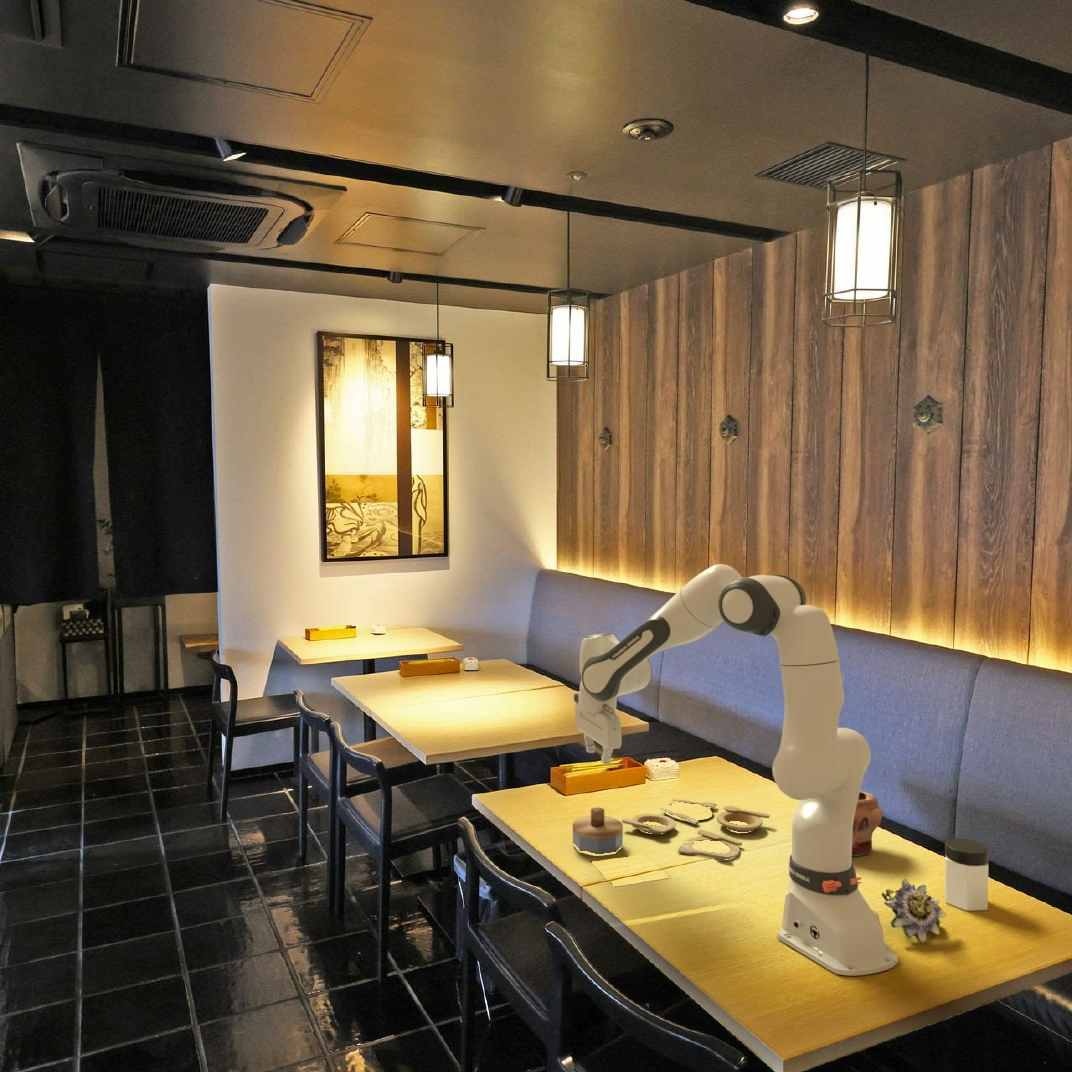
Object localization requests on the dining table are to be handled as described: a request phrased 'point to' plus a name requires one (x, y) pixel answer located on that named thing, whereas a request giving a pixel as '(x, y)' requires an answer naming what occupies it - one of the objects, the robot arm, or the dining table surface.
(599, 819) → the lid
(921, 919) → the passion flower
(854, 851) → the decorative planter
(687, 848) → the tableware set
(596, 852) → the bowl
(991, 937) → the dining table surface
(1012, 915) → the dining table surface
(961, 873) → the jar
